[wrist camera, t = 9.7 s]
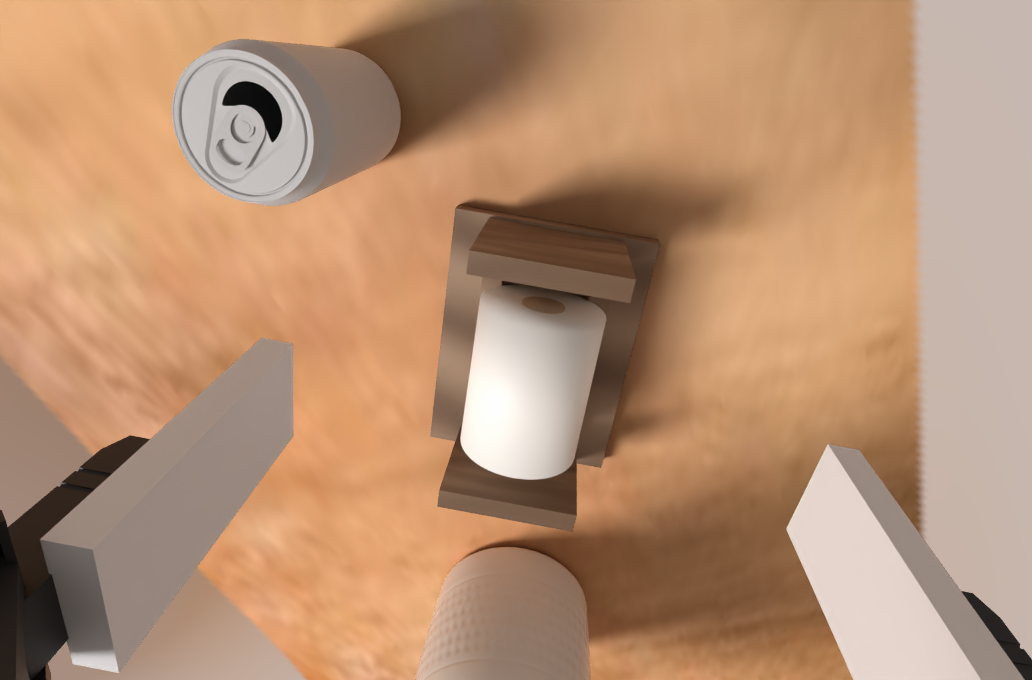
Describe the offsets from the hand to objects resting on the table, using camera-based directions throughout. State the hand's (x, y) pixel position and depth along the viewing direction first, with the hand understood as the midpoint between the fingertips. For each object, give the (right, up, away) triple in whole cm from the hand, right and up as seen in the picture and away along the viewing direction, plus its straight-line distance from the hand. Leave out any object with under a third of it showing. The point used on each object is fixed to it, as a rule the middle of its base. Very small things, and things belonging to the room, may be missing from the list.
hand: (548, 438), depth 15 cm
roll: (0, +1, +23) cm, 23 cm away
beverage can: (-10, +16, +19) cm, 27 cm away
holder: (+1, +2, +24) cm, 24 cm away
